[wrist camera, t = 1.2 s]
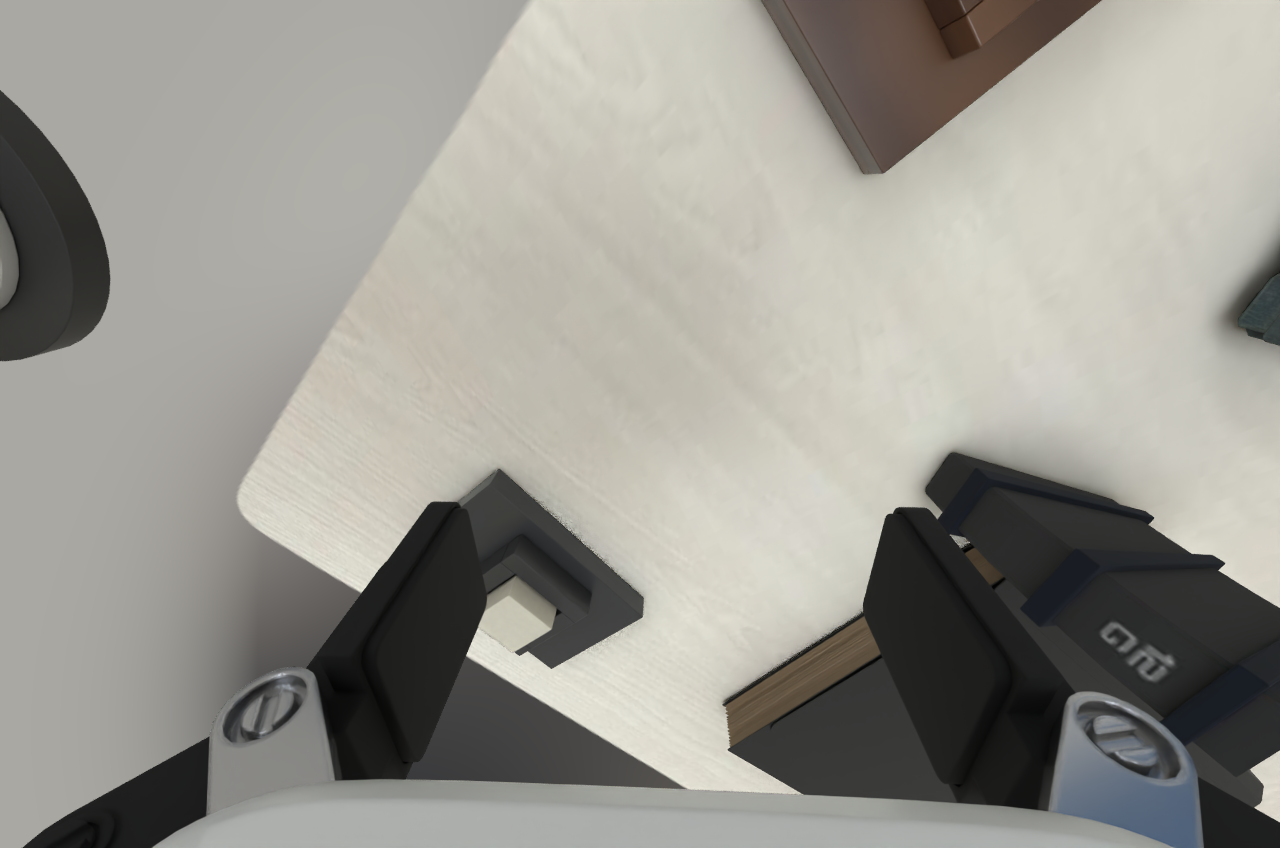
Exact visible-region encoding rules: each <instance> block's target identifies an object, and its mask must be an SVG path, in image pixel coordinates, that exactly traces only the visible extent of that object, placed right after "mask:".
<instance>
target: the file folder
mask: <svg viewBox="0 0 1280 848" xmlns="http://www.w3.org/2000/svg"><path fill="white" fill-rule="evenodd" d="M961 550H962V551H963V552H964V553H965V555H966V556H967V557H968V558H969V560H970V561H971V562H972V563H973V565H974V566H975V567H976V568H977V570H978V571H979V572H980V573H981V575H982V576H983V577H984V578H985V580H986V581H987V582H988V583H989V585H990V586H991V587H992V588H993V590H994V591H995V592H996V593H997V595H998V596H999V597H1000V598H1001V599H1002V601H1003V602H1004V603H1005V604H1006V606H1007V607H1008V608H1009V609H1010V611H1011V612H1012V613H1013V614H1014V616H1015V617H1016V618H1017V619H1018V621H1019V622H1020V623H1021V624H1022V626H1023V627H1024V628H1025V629H1026V631H1027V632H1028V633H1029V634H1030V636H1031V637H1032V638H1033V639H1034V641H1035V642H1036V643H1037V644H1038V646H1039V647H1040V648H1041V649H1042V651H1043V652H1044V653H1045V654H1046V656H1047V657H1048V658H1049V659H1050V660H1051V662H1052V663H1053V664H1054V665H1055V667H1056V668H1057V669H1058V670H1059V672H1060V673H1061V674H1062V675H1063V677H1064V679H1065V680H1066V681H1067V682H1068V684H1069V685H1070V686H1071V687H1072V689H1073V690H1074V691H1075V692H1076V693H1078V692H1089V691H1093V692H1098V693H1103V694H1107V695H1111V696H1113V697H1116V698H1118V699H1121V700H1123V701H1126V702H1128V703H1130V704H1132V705H1134V706H1135V707H1137V708H1139V709H1141V710H1143V711H1144V712H1146V713H1148V714H1149V715H1150V716H1152V717H1153V718H1154V719H1156V720H1157V721H1158V722H1160V721H1161V720H1163V719H1164V718H1163V717H1162V716H1161V715H1160V714H1158V713H1157V712H1156V711H1155V710H1153V709H1152V708H1151V707H1150V706H1149V705H1147V704H1146V703H1145V702H1144V701H1143V700H1141V699H1140V698H1139V697H1138V696H1136V695H1135V694H1134V693H1133V692H1132V691H1130V690H1129V689H1128V688H1127V687H1126V686H1124V685H1123V684H1122V683H1121V682H1120V681H1118V680H1117V679H1116V678H1115V677H1113V676H1112V675H1111V674H1110V673H1109V672H1107V671H1106V670H1105V669H1104V668H1103V667H1101V666H1100V665H1099V664H1098V663H1097V662H1096V661H1095V660H1094V659H1093V658H1092V657H1090V656H1089V655H1088V654H1087V653H1086V652H1085V651H1084V650H1083V649H1082V648H1081V647H1080V646H1078V645H1077V644H1076V643H1075V642H1074V641H1073V640H1072V639H1071V638H1070V637H1069V636H1068V635H1066V634H1065V633H1064V632H1063V631H1062V630H1061V629H1060V628H1059V627H1058V626H1049V627H1038V626H1037V625H1036V624H1035V623H1034V622H1033V621H1032V620H1031V619H1030V618H1029V617H1028V616H1027V615H1026V614H1024V613H1023V612H1022V611H1021V610H1020V607H1021V606H1022V605H1023V604H1024V603H1025V602H1026V601H1027V600H1028V599H1027V598H1026V597H1025V596H1024V595H1023V594H1022V593H1021V592H1020V591H1019V590H1018V589H1017V588H1015V587H1014V586H1013V585H1012V584H1011V583H1010V582H1009V581H1008V580H1007V579H1006V578H1005V577H1004V576H1003V575H1002V574H1001V573H1000V572H999V571H997V570H996V569H995V568H994V567H993V566H992V565H991V564H990V563H989V562H988V561H987V560H986V559H985V558H984V557H983V556H982V555H981V553H980V552H979V551H978V550H977V549H976V548H975V547H974V546H973V545H972V544H971V545H968V546H966V547H964V548H963V549H961ZM722 705H723V706H725V707H726V710H727V711H728V712H726V714H727V715H729V716H727V718H728V719H727V720H728V721H727V723H728V724H727V725H728V728H729V730H728V732H729V735H730V736H731V737H729V739H731V740H729V741H730V743H729V744H731V745H730V748H729V749H728V751H730V752H732V753H733V754H735V755H737V756H738V757H740V758H742V759H744V760H745V761H747V762H749V763H750V764H752V765H754V766H756V767H757V768H759V769H761V770H762V771H764V772H766V773H768V774H769V775H771V776H773V777H774V778H776V779H778V780H779V781H781V782H783V783H785V784H786V785H788V786H790V787H791V788H793V789H795V790H797V791H798V792H800V793H802V794H803V795H819V796H839V797H860V798H880V799H901V800H918V801H933V802H948V803H957V801H956V799H955V797H954V795H953V792H952V790H951V788H950V786H949V784H944V783H942V782H941V781H940V780H939V778H938V777H937V775H936V773H935V771H934V769H933V767H932V765H931V762H930V760H929V758H928V756H927V754H926V751H925V749H924V747H923V745H922V743H921V740H920V738H919V736H918V734H917V732H916V729H915V727H914V725H913V723H912V721H911V718H910V716H909V714H908V712H907V710H906V708H905V705H904V703H903V701H902V699H901V697H900V694H899V692H898V690H897V688H896V686H895V683H894V681H893V679H892V677H891V675H890V672H889V670H888V668H887V666H886V664H885V661H884V659H883V657H882V655H881V653H880V650H879V648H878V646H877V644H876V642H875V639H874V637H873V635H872V633H871V631H870V629H869V626H868V624H867V622H866V619H865V617H864V613H863V614H861V615H860V616H858V617H857V618H855V619H854V620H852V621H850V622H849V623H847V624H846V625H844V626H843V627H841V628H840V629H838V630H837V631H835V632H834V633H832V634H830V635H829V636H827V637H826V638H824V639H823V640H821V641H820V642H818V643H817V644H815V645H813V646H812V647H810V648H809V649H807V650H806V651H804V652H803V653H801V654H800V655H798V656H796V657H795V658H793V659H792V660H790V661H789V662H787V663H786V664H784V665H783V666H781V667H780V668H778V669H776V670H775V671H773V672H772V673H770V674H769V675H767V676H766V677H764V678H763V679H761V680H759V681H758V682H756V683H755V684H753V685H752V686H750V687H749V688H747V689H746V690H744V691H742V692H741V693H739V694H738V695H736V696H735V697H733V698H732V699H730V700H729V701H727V702H726V703H724V704H722ZM1185 748H1186V750H1187V751H1188V753H1189V754H1190V756H1191V757H1192V759H1193V762H1194V765H1195V768H1196V771H1197V776H1198V777H1199V778H1201V779H1203V780H1205V781H1207V782H1208V783H1210V784H1212V785H1214V786H1216V787H1217V788H1219V789H1221V790H1223V791H1224V792H1226V793H1228V794H1230V795H1232V796H1233V797H1235V798H1237V799H1239V800H1241V801H1242V802H1244V803H1246V804H1248V805H1249V806H1251V807H1253V808H1254V807H1256V806H1257V805H1258V804H1260V803H1261V801H1262V795H1263V788H1264V786H1263V784H1262V783H1261V782H1260V781H1259V779H1258V778H1257V777H1256V776H1255V775H1254V774H1253V773H1252V772H1251V771H1250V769H1249V770H1248V771H1246V772H1244V773H1243V774H1241V775H1239V776H1238V777H1235V776H1233V775H1232V774H1231V773H1230V772H1229V771H1227V770H1226V769H1225V768H1224V767H1223V766H1221V765H1220V764H1219V763H1218V762H1217V761H1215V760H1214V759H1213V758H1212V757H1210V756H1209V755H1208V754H1207V753H1206V752H1204V751H1203V750H1202V749H1201V748H1200V747H1198V746H1197V745H1196V744H1195V743H1193V742H1191V743H1190V744H1188V745H1187V746H1185Z"/></svg>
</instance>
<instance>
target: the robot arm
mask: <svg viewBox="0 0 1280 848" xmlns="http://www.w3.org/2000/svg"><path fill="white" fill-rule="evenodd" d="M18 278H19V258H18V253H17V249H16V245H15V241H14V237H13V234H12V232H11V230H10V227H9V225H8V223H7V220H6V218H5V215H4V214H3V212H2V210H1V208H0V309H2V308H3V307H4V306H5V305H7V304H8V303H9V301H10V299H11V298H12V296H13V295H14V293H15V291H16V287H17V282H18ZM486 604H487V592H486V588H485V583H484V579H483V574H482V570H481V566H480V561H479V557H478V552H477V548H476V543H475V539H474V534H473V530H472V525H471V521H470V517H469V513H468V510H467V509H465V508H461V505H460V504H459V503H458V502H431V503H430V504H429V505H428V506H427V507H426V509H425V510H424V511H423V513H422V514H421V516H420V517H419V518H418V520H417V521H416V522H415V524H414V525H413V526H412V528H411V529H410V530H409V532H408V533H407V535H406V536H405V537H404V539H403V540H402V541H401V543H400V544H399V545H398V547H397V548H396V550H395V551H394V552H393V554H392V555H391V556H390V558H389V559H388V560H387V562H385V563H384V565H383V566H382V567H381V568H380V569H379V570H378V572H377V573H376V574H375V576H374V577H373V579H372V580H371V581H370V583H369V584H368V585H367V587H366V588H365V589H364V591H363V592H362V593H361V595H360V596H359V597H358V599H357V600H356V601H355V603H354V604H353V606H352V607H351V608H350V610H349V611H348V612H347V614H346V615H345V616H344V618H343V619H342V620H341V622H340V623H339V624H338V626H337V627H336V629H335V630H334V631H333V633H332V634H331V635H330V637H329V638H328V640H327V641H326V642H325V643H324V645H323V646H322V648H321V649H320V650H319V652H318V653H317V654H316V656H315V657H314V658H313V660H312V661H311V662H310V664H309V665H308V666H307V668H301V667H288V668H283V669H278V670H275V671H273V672H270V673H268V674H265V675H263V676H261V677H259V678H257V679H256V680H254V681H252V682H250V683H249V684H247V685H246V686H245V687H243V688H242V689H241V690H239V691H238V692H237V693H236V694H234V695H233V696H232V697H231V698H230V700H229V701H228V702H227V703H226V704H225V705H224V706H223V707H222V708H221V710H220V711H219V713H218V715H217V716H216V718H215V720H214V721H213V724H212V728H211V732H210V736H209V737H208V738H206V739H204V740H202V741H200V742H199V743H197V744H195V745H193V746H191V747H189V748H188V749H186V750H184V751H183V752H180V753H179V754H177V755H175V756H173V757H171V758H170V759H168V760H166V761H164V762H162V763H161V764H159V765H157V766H155V767H153V768H152V769H150V770H148V771H146V772H144V773H143V774H141V775H139V776H137V777H136V778H134V779H132V780H130V781H128V782H126V783H124V784H122V785H121V786H119V787H117V788H115V789H113V790H112V791H110V792H108V793H106V794H104V795H103V796H101V797H99V798H97V799H95V800H94V801H92V802H90V803H88V804H86V805H85V806H83V807H81V808H79V809H77V810H75V811H74V812H72V813H70V814H68V815H67V816H65V817H63V818H62V819H61V820H59V821H57V822H56V823H54V824H53V825H51V826H50V827H48V828H46V829H45V830H43V831H42V832H41V833H40V834H39V835H37V836H36V837H35V838H34V839H32V840H31V841H30V842H29V843H27V844H26V845H25V846H24V847H23V848H1280V822H1278V821H1276V820H1274V819H1273V818H1271V817H1269V816H1267V815H1266V814H1264V813H1262V812H1260V811H1258V810H1257V809H1255V808H1253V807H1251V806H1249V805H1248V804H1246V803H1244V802H1242V801H1241V800H1239V799H1237V798H1235V797H1233V796H1232V795H1230V794H1228V793H1226V792H1224V791H1223V790H1221V789H1219V788H1217V787H1216V786H1214V785H1212V784H1210V783H1208V782H1207V781H1205V780H1203V779H1201V778H1199V777H1198V776H1197V771H1196V768H1195V765H1194V762H1193V759H1192V757H1191V756H1190V754H1189V753H1188V751H1187V750H1186V748H1185V747H1184V746H1183V744H1182V743H1181V742H1180V741H1179V740H1178V739H1177V738H1176V737H1175V736H1174V735H1173V734H1172V733H1171V732H1170V731H1169V730H1168V729H1167V728H1166V727H1165V726H1164V725H1162V724H1161V723H1160V722H1158V721H1157V720H1156V719H1154V718H1153V717H1152V716H1150V715H1149V714H1148V713H1146V712H1144V711H1143V710H1141V709H1139V708H1137V707H1135V706H1134V705H1132V704H1130V703H1128V702H1126V701H1123V700H1121V699H1118V698H1116V697H1113V696H1111V695H1107V694H1103V693H1098V692H1093V691H1089V692H1078V693H1076V692H1075V691H1074V690H1073V689H1072V687H1071V686H1070V685H1069V684H1068V682H1067V681H1066V680H1065V679H1064V677H1063V675H1062V674H1061V673H1060V672H1059V670H1058V669H1057V668H1056V667H1055V665H1054V664H1053V663H1052V662H1051V660H1050V659H1049V658H1048V657H1047V656H1046V654H1045V653H1044V652H1043V651H1042V649H1041V648H1040V647H1039V646H1038V644H1037V643H1036V642H1035V641H1034V639H1033V638H1032V637H1031V636H1030V634H1029V633H1028V632H1027V631H1026V629H1025V628H1024V627H1023V626H1022V624H1021V623H1020V622H1019V621H1018V619H1017V618H1016V617H1015V616H1014V614H1013V613H1012V612H1011V611H1010V609H1009V608H1008V607H1007V606H1006V604H1005V603H1004V602H1003V601H1002V599H1001V598H1000V597H999V596H998V595H997V593H996V592H995V591H994V590H993V588H992V587H991V586H990V585H989V583H988V582H987V581H986V580H985V578H984V577H983V576H982V575H981V573H980V572H979V571H978V570H977V568H976V567H975V566H974V565H973V563H972V562H971V561H970V560H969V558H968V557H967V556H966V555H965V553H964V552H963V551H962V550H961V548H960V547H959V546H958V545H957V543H956V542H955V541H954V540H953V538H952V537H951V536H950V535H949V534H948V532H947V531H946V530H945V529H944V527H943V526H942V525H941V524H940V522H939V521H938V520H937V519H936V517H935V516H934V515H933V514H932V512H931V511H930V510H929V509H927V508H917V507H899V508H896V509H895V510H894V512H893V514H888V515H887V516H886V518H885V521H884V525H883V529H882V533H881V536H880V540H879V544H878V548H877V552H876V556H875V559H874V563H873V567H872V571H871V575H870V579H869V582H868V586H867V590H866V594H865V598H864V602H863V612H864V617H865V619H866V622H867V624H868V626H869V629H870V631H871V633H872V635H873V637H874V639H875V642H876V644H877V646H878V648H879V650H880V653H881V655H882V657H883V659H884V661H885V664H886V666H887V668H888V670H889V672H890V675H891V677H892V679H893V681H894V683H895V686H896V688H897V690H898V692H899V694H900V697H901V699H902V701H903V703H904V705H905V708H906V710H907V712H908V714H909V716H910V718H911V721H912V723H913V725H914V727H915V729H916V732H917V734H918V736H919V738H920V740H921V743H922V745H923V747H924V749H925V751H926V754H927V756H928V758H929V760H930V762H931V765H932V767H933V769H934V771H935V773H936V775H937V777H938V778H939V780H940V781H941V782H942V783H944V784H949V786H950V788H951V790H952V792H953V795H954V797H955V799H956V801H957V803H948V802H933V801H918V800H901V799H880V798H860V797H839V796H819V795H798V794H778V793H756V792H733V791H710V790H687V789H664V788H638V787H616V786H615V787H614V786H592V785H565V784H537V783H511V782H485V781H451V780H450V781H449V780H406V777H407V775H408V773H409V770H410V768H411V766H412V763H413V762H418V761H420V760H421V759H422V757H423V755H424V753H425V751H426V749H427V746H428V744H429V742H430V739H431V737H432V735H433V732H434V730H435V728H436V725H437V723H438V721H439V718H440V716H441V713H442V711H443V709H444V706H445V704H446V702H447V699H448V697H449V694H450V692H451V690H452V687H453V685H454V683H455V680H456V678H457V676H458V673H459V671H460V668H461V666H462V663H463V661H464V659H465V657H466V654H467V652H468V649H469V647H470V645H471V642H472V640H473V638H474V635H475V633H476V630H477V628H478V626H479V623H480V621H481V619H482V616H483V614H484V611H485V609H486Z"/></svg>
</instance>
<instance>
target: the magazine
mask: <svg viewBox="0 0 1280 848" xmlns="http://www.w3.org/2000/svg"><path fill="white" fill-rule="evenodd" d="M926 494H927V495H928V496H929V497H930V498H931V499H932V501H933V502H934V503H935V504H936V505H937V506H938V507H939V509H940V510H941V511H942V512H943V513H942V514H941V516H940V517H939V518H938V521H939V522H940V524H941V525H942V526H943V527H944V529H945V530H946V531H947V532H948V534H951V535H956V536H961V537H966V539H967V540H968V541H969V542H970V543H971V544H972V545H973V546H974V547H975V548H976V549H977V550H978V551H979V552H980V553H981V555H982V556H983V557H984V558H985V559H986V560H987V561H988V562H989V563H990V564H991V565H992V566H993V567H994V568H995V569H996V570H997V571H999V572H1000V573H1001V574H1002V575H1003V576H1004V577H1005V578H1006V579H1007V580H1008V581H1009V582H1010V583H1011V584H1012V585H1013V586H1014V587H1015V588H1017V589H1018V590H1019V591H1020V592H1021V593H1022V594H1023V595H1024V596H1025V597H1026V598H1027V599H1028V600H1027V601H1026V602H1025V603H1024V604H1023V605H1022V606H1021V607H1020V610H1021V611H1022V612H1023V613H1024V614H1026V615H1027V616H1028V617H1029V618H1030V619H1031V620H1032V621H1033V622H1034V623H1035V624H1036V625H1037V626H1038V627H1049V626H1058V627H1059V628H1060V629H1061V630H1062V631H1063V632H1064V633H1065V634H1066V635H1068V636H1069V637H1070V638H1071V639H1072V640H1073V641H1074V642H1075V643H1076V644H1077V645H1078V646H1080V647H1081V648H1082V649H1083V650H1084V651H1085V652H1086V653H1087V654H1088V655H1089V656H1090V657H1092V658H1093V659H1094V660H1095V661H1096V662H1097V663H1098V664H1099V665H1100V666H1101V667H1103V668H1104V669H1105V670H1106V671H1107V672H1109V673H1110V674H1111V675H1112V676H1113V677H1115V678H1116V679H1117V680H1118V681H1120V682H1121V683H1122V684H1123V685H1124V686H1126V687H1127V688H1128V689H1129V690H1130V691H1132V692H1133V693H1134V694H1135V695H1136V696H1138V697H1139V698H1140V699H1141V700H1143V701H1144V702H1145V703H1146V704H1147V705H1149V706H1150V707H1151V708H1152V709H1153V710H1155V711H1156V712H1157V713H1158V714H1160V715H1161V716H1162V717H1163V718H1164V719H1163V720H1161V721H1160V723H1161V724H1162V725H1164V726H1165V727H1166V728H1167V729H1168V730H1169V731H1170V732H1171V733H1172V734H1173V735H1174V736H1175V737H1176V738H1177V739H1178V740H1179V741H1180V742H1181V743H1182V744H1183V746H1184V747H1185V746H1187V745H1188V744H1190V743H1191V742H1193V743H1195V744H1196V745H1197V746H1198V747H1200V748H1201V749H1202V750H1203V751H1204V752H1206V753H1207V754H1208V755H1209V756H1210V757H1212V758H1213V759H1214V760H1215V761H1217V762H1218V763H1219V764H1220V765H1221V766H1223V767H1224V768H1225V769H1226V770H1227V771H1229V772H1230V773H1231V774H1232V775H1233V776H1235V777H1238V776H1239V775H1241V774H1243V773H1244V772H1246V771H1248V770H1249V769H1251V768H1252V767H1254V766H1256V765H1257V764H1259V763H1260V762H1262V761H1264V760H1265V759H1267V758H1268V757H1270V756H1271V755H1273V754H1275V753H1276V752H1278V751H1279V750H1280V608H1279V607H1277V606H1275V605H1274V604H1272V603H1270V602H1268V601H1267V600H1265V599H1263V598H1262V597H1260V596H1258V595H1257V594H1255V593H1253V592H1252V591H1250V590H1248V589H1247V588H1245V587H1244V586H1242V585H1240V584H1239V583H1237V582H1236V581H1234V580H1232V579H1231V578H1229V577H1228V576H1226V575H1224V574H1223V573H1221V572H1220V571H1218V570H1219V569H1220V568H1221V567H1222V566H1224V565H1225V563H1224V562H1223V561H1221V560H1220V559H1218V558H1216V557H1215V556H1213V555H1201V554H1191V553H1190V552H1188V551H1187V550H1185V549H1184V548H1182V547H1181V546H1179V545H1178V544H1176V543H1175V542H1173V541H1171V540H1170V539H1168V538H1167V537H1165V536H1164V535H1163V534H1161V533H1160V532H1158V531H1157V530H1155V529H1154V528H1152V527H1151V526H1149V525H1148V524H1149V523H1150V522H1151V521H1152V520H1153V519H1154V517H1153V516H1151V515H1150V514H1148V513H1147V512H1146V511H1142V510H1138V509H1134V508H1131V507H1127V506H1123V505H1119V504H1118V503H1117V502H1115V501H1114V500H1112V499H1109V498H1106V497H1102V496H1099V495H1096V494H1092V493H1089V492H1085V491H1082V490H1079V489H1075V488H1072V487H1069V486H1065V485H1062V484H1059V483H1055V482H1052V481H1049V480H1045V479H1042V478H1039V477H1035V476H1032V475H1029V474H1025V473H1022V472H1019V471H1015V470H1012V469H1008V468H1005V467H1002V466H998V465H995V464H992V463H988V462H985V461H982V460H978V459H975V458H972V457H968V456H965V455H962V454H958V453H951V454H950V455H949V456H948V457H947V459H946V460H945V462H944V463H943V464H942V466H941V467H940V469H939V470H938V472H937V473H936V475H935V476H934V478H933V479H932V480H931V482H930V483H929V485H928V486H927V488H926Z"/></svg>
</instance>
